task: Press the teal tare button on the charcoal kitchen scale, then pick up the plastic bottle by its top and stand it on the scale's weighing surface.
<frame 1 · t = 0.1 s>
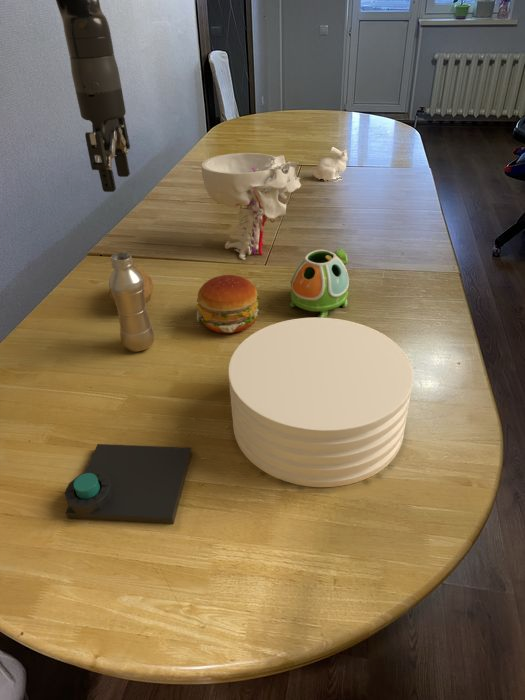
hand: (117, 183, 96), 30 cm above the table, tool pointing down, fingers open, 8 cm apart
plastic bottle: (139, 347, 105), on the table
skull: (254, 248, 143), on the table
potato: (134, 304, 120), on the table
scale: (133, 484, 76), on the table
tare button: (86, 486, 72), point 4 cm above the table, slide at 0.2 cm
rabbit: (333, 180, 188), on the table
burger: (228, 322, 112), on the table
turtle holder: (321, 302, 118), on the table
plate stack: (317, 421, 86), on the table
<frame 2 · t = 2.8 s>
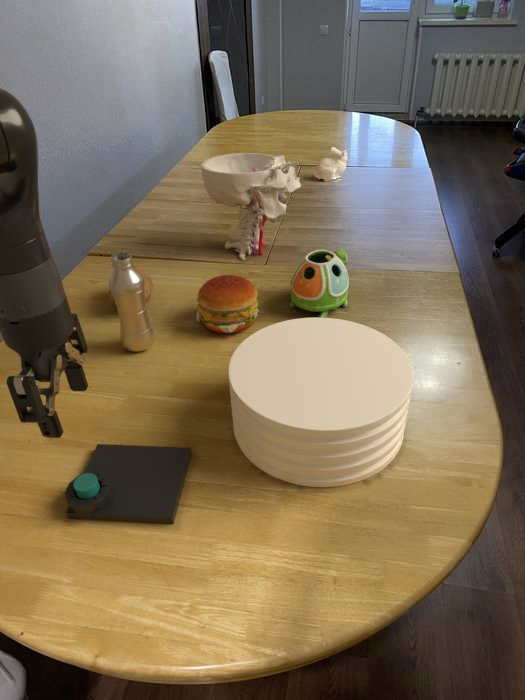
hand: (67, 411, 65), 17 cm above the table, tool pointing down, fingers open, 8 cm apart
nothing on the table moved.
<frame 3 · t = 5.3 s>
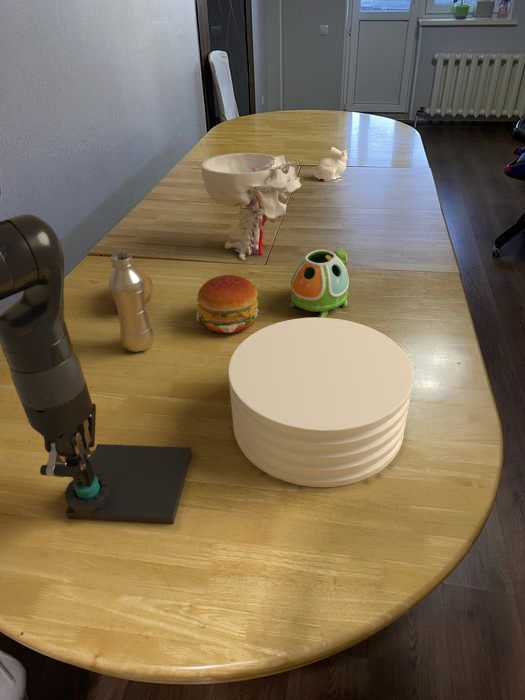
hand: (86, 482, 71), 4 cm above the table, tool pointing down, fingers closed
tare button: (87, 486, 72), point 3 cm above the table, slide at 0.1 cm, touching gripper
everything else where it was.
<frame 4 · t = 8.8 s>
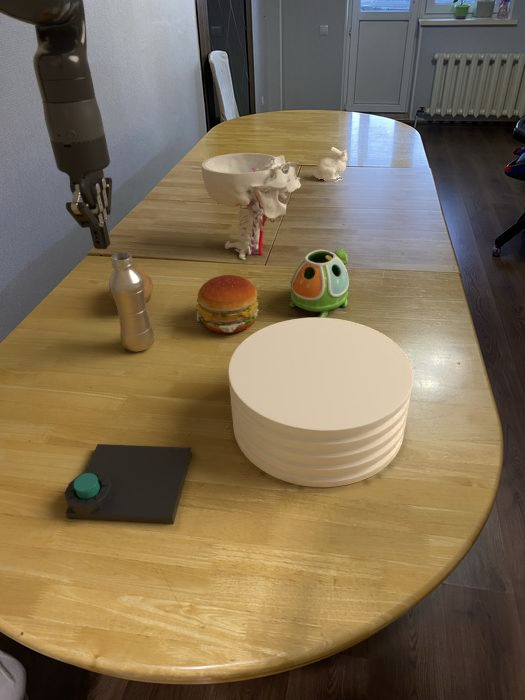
hand: (102, 247, 83), 26 cm above the table, tool pointing down, fingers closed
tare button: (86, 486, 72), point 4 cm above the table, slide at 0.2 cm
everything else where it was.
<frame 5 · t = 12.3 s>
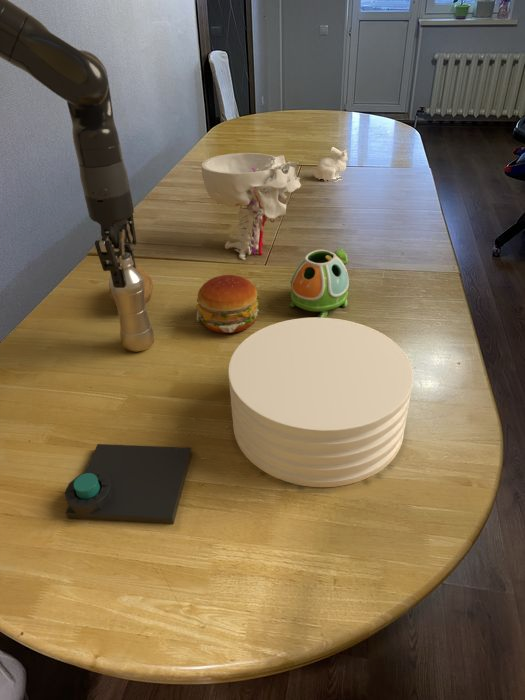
hand: (125, 278, 96), 16 cm above the table, tool pointing down, fingers closed on plastic bottle, 5 cm apart
plastic bottle: (139, 347, 105), on the table, touching gripper
everything else where it was.
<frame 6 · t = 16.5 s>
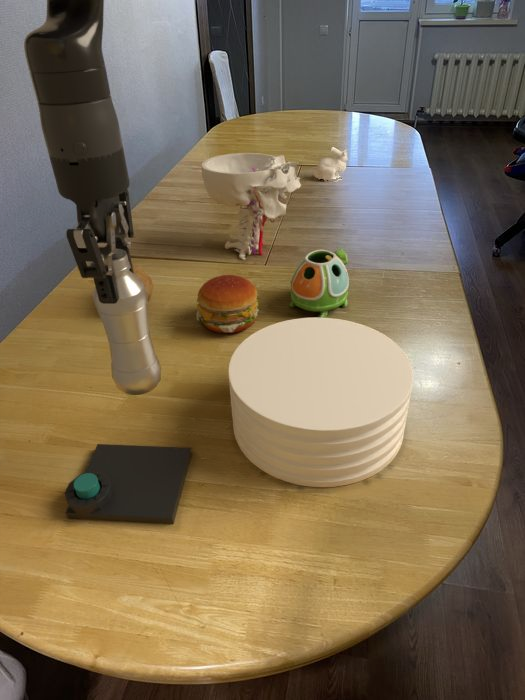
hand: (117, 288, 63), 30 cm above the table, tool pointing down, fingers closed on plastic bottle, 5 cm apart
plastic bottle: (140, 387, 72), point 14 cm above the table, touching gripper
everything else where it was.
when the fingers open (17 cm above the table, at t = 20.8 s): plastic bottle stays where it is, resting on scale.
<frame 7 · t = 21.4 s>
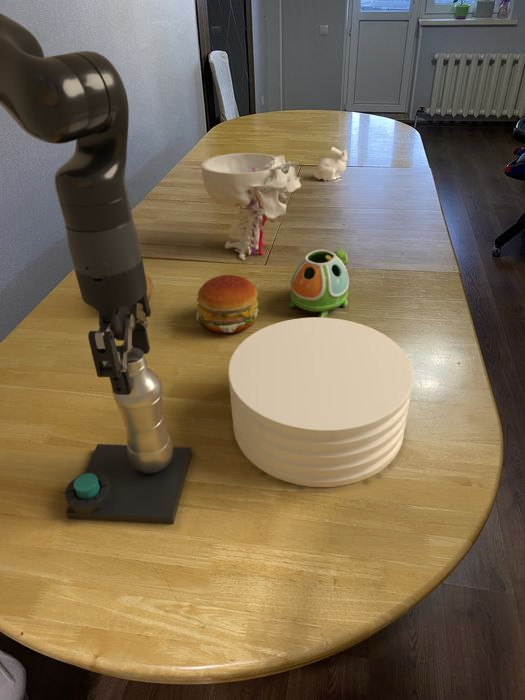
hand: (133, 371, 67), 19 cm above the table, tool pointing down, fingers open, 8 cm apart
plastic bottle: (153, 463, 78), point 1 cm above the table, touching scale
everything else where it was.
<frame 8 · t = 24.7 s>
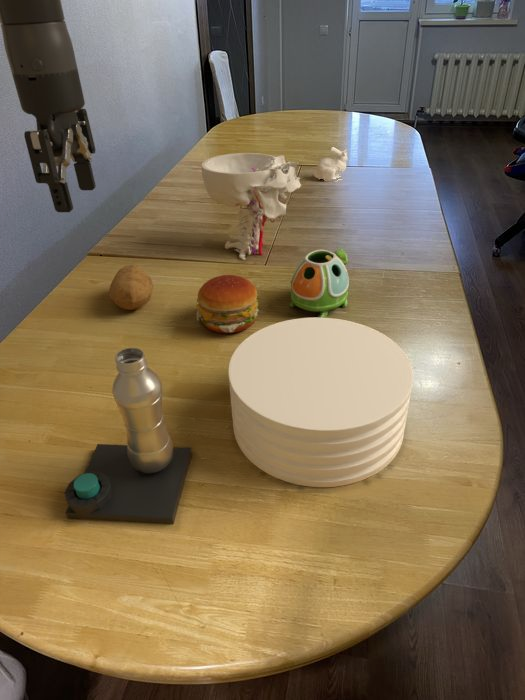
hand: (77, 200, 71), 36 cm above the table, tool pointing down, fingers open, 8 cm apart
nothing on the table moved.
at the end: tare button pushed in 0.9 cm at the most during the clip, back to 0.2 cm at the end; plastic bottle inside the target area on the scale (0.9 cm from its centre), point 1.2 cm above the scale's base; plastic bottle tilted 0° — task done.
